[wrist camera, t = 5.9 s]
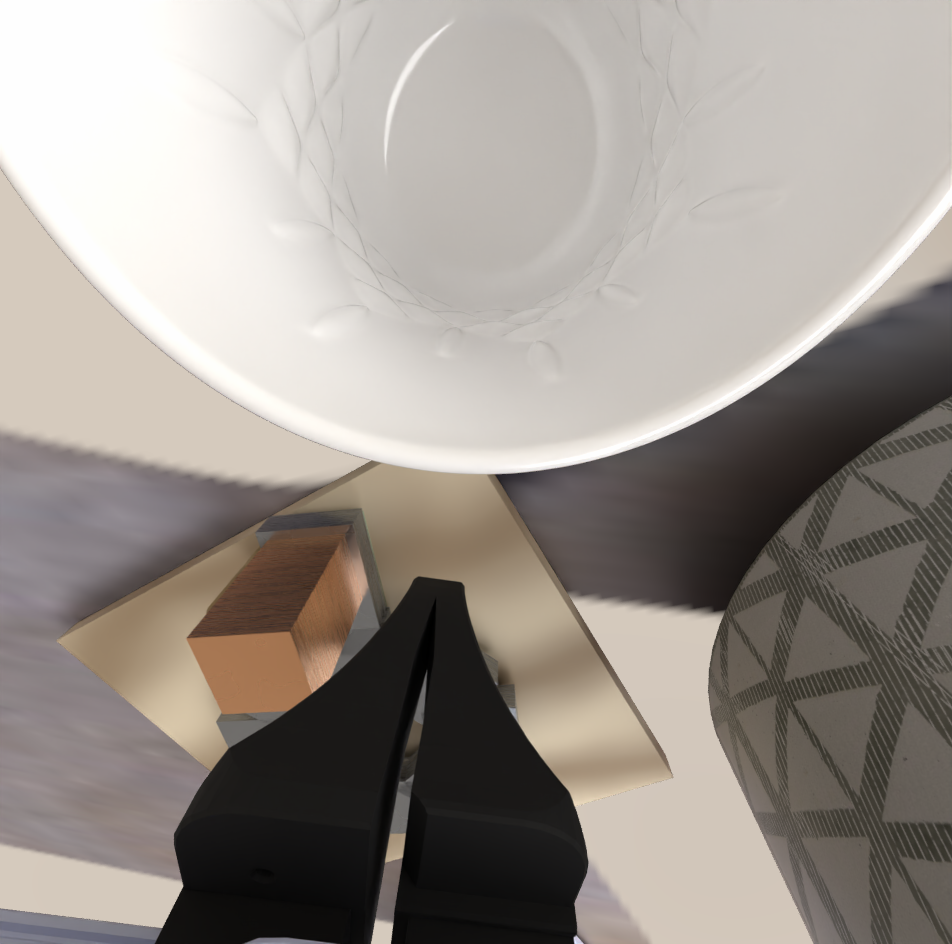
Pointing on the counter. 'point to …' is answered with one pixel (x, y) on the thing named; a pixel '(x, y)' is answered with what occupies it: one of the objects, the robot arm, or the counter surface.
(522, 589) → the post board
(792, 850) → the planter
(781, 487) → the counter surface
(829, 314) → the white cup
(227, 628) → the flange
